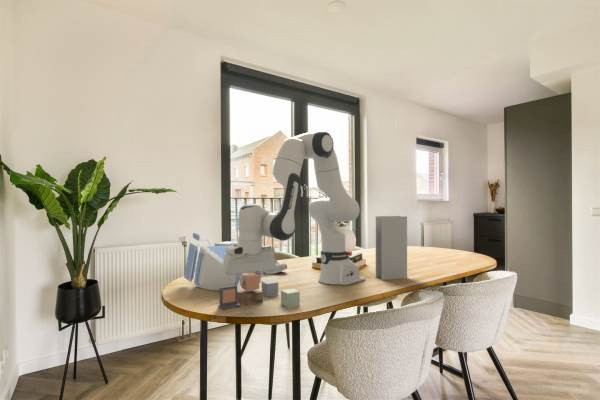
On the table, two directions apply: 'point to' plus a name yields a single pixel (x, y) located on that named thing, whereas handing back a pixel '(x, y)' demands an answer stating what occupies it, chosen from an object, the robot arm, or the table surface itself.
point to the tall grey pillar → (391, 247)
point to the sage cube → (290, 297)
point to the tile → (228, 297)
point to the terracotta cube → (250, 281)
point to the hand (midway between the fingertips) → (250, 284)
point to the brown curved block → (249, 297)
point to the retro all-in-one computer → (208, 267)
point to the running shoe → (276, 268)
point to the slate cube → (270, 288)
